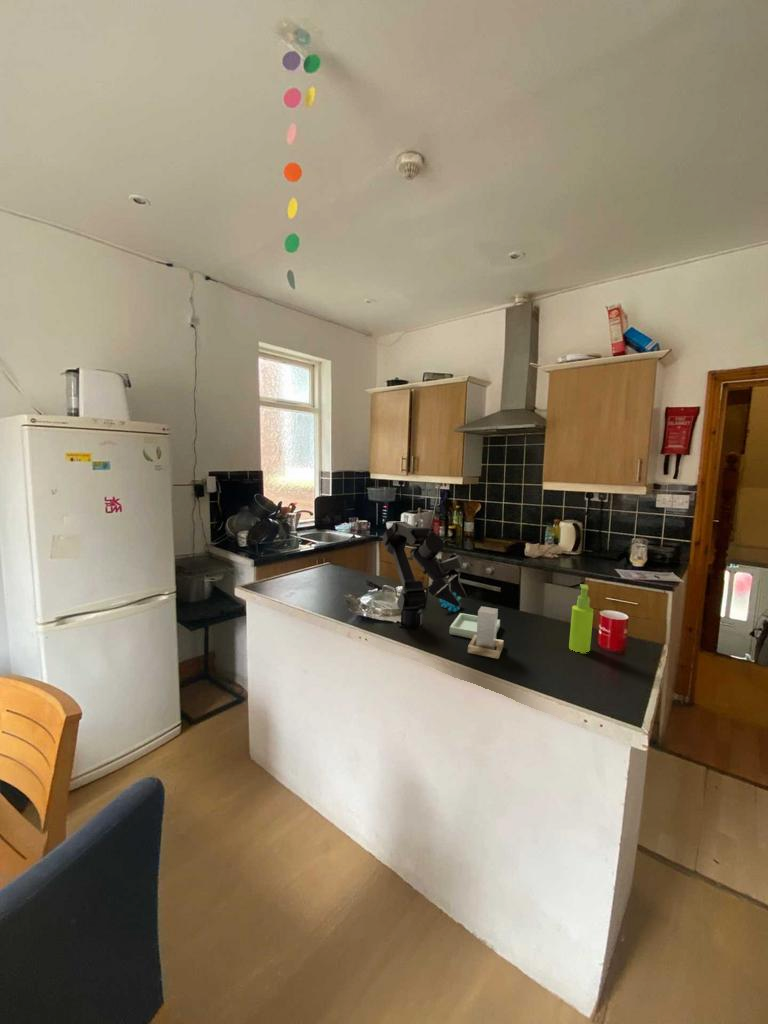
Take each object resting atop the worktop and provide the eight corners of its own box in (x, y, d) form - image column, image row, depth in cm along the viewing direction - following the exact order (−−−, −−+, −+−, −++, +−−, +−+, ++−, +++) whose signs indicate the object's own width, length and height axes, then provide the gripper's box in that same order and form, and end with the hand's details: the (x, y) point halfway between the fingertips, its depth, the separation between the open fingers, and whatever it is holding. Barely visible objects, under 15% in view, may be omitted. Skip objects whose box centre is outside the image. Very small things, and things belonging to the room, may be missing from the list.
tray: (449, 634, 140) (449, 626, 139) (459, 619, 152) (460, 613, 152) (492, 642, 134) (493, 634, 134) (499, 626, 147) (500, 619, 147)
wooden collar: (467, 652, 127) (468, 646, 127) (474, 640, 135) (474, 634, 135) (498, 658, 123) (498, 652, 123) (503, 646, 131) (503, 640, 131)
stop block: (475, 651, 128) (477, 611, 126) (479, 644, 132) (481, 606, 131) (492, 654, 126) (495, 614, 124) (495, 648, 130) (497, 608, 129)
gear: (447, 611, 156) (436, 587, 161) (437, 618, 160) (427, 595, 165) (467, 609, 163) (456, 586, 168) (458, 616, 166) (447, 594, 172)
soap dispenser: (588, 645, 134) (593, 583, 131) (591, 654, 127) (596, 590, 125) (567, 642, 136) (572, 581, 133) (569, 651, 129) (575, 587, 126)
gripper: (439, 551, 123) (476, 594, 119) (454, 541, 140) (487, 578, 137) (412, 575, 126) (447, 616, 123) (430, 562, 144) (462, 598, 140)
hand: (462, 601), depth 131 cm, fingers open, 9 cm apart
